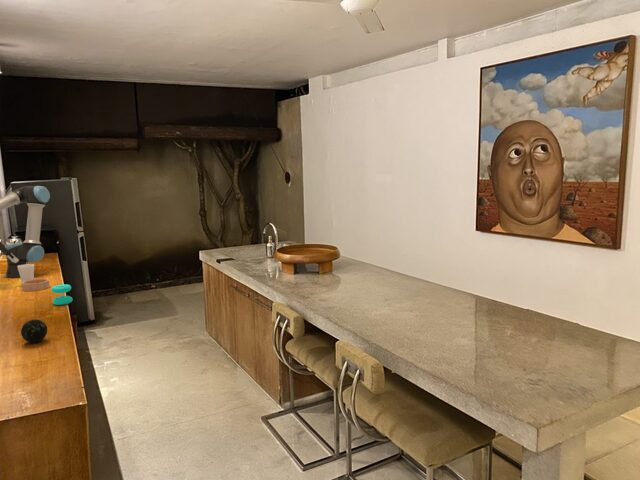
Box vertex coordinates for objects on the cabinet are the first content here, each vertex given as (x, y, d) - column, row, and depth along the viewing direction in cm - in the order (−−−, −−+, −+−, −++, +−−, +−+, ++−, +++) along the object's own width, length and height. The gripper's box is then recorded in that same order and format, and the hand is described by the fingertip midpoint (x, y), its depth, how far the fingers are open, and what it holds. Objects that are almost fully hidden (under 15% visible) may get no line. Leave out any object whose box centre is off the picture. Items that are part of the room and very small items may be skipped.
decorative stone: (53, 337, 222) (50, 316, 220) (41, 345, 212) (38, 323, 210) (30, 338, 221) (27, 316, 220) (17, 346, 211) (14, 324, 210)
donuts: (72, 283, 283) (68, 287, 273) (74, 300, 284) (70, 304, 275) (53, 284, 280) (48, 288, 270) (55, 301, 282) (50, 306, 272)
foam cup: (39, 283, 329) (37, 264, 327) (30, 286, 319) (27, 266, 317) (26, 283, 330) (23, 264, 327) (16, 286, 320) (14, 267, 318)
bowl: (24, 287, 318) (23, 280, 317) (50, 284, 324) (49, 277, 323) (20, 292, 304) (20, 285, 304) (48, 289, 310) (47, 282, 310)
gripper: (-17, 241, 321) (9, 264, 330) (-14, 240, 301) (13, 266, 310) (-6, 233, 325) (19, 257, 333) (-4, 232, 305) (23, 257, 313)
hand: (16, 261), depth 321 cm, fingers open, 13 cm apart
